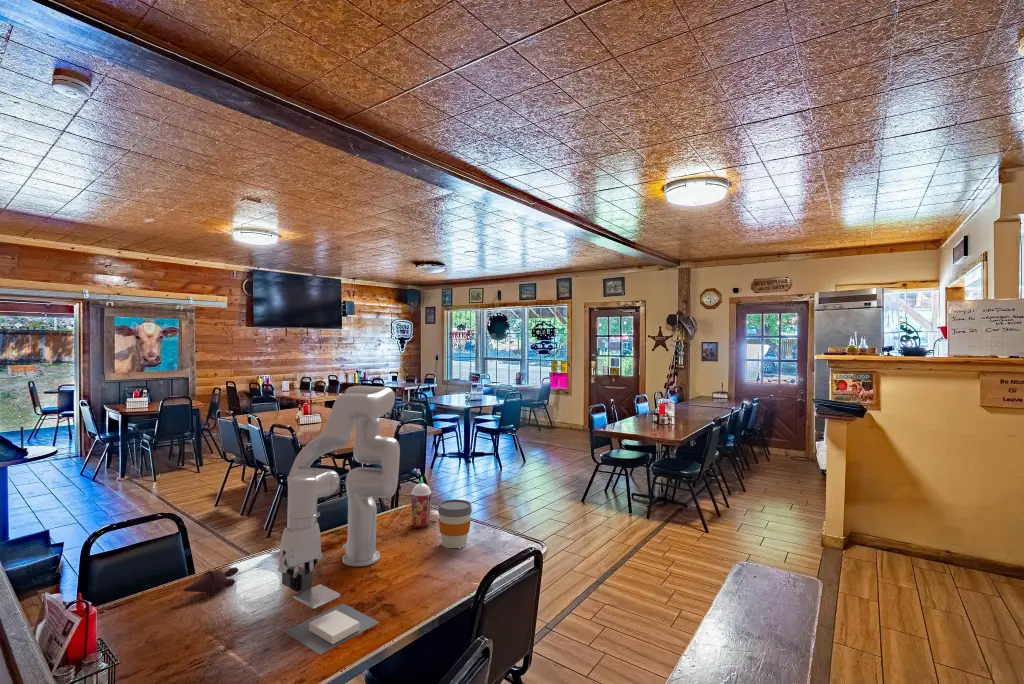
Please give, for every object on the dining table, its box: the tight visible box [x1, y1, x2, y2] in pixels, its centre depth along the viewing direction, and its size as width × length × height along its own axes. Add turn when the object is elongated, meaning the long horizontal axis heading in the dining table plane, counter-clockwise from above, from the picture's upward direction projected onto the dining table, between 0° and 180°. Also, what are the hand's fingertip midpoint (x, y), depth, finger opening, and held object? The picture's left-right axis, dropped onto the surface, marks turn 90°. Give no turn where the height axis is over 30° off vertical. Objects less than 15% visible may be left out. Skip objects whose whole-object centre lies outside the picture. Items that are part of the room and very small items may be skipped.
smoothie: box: [410, 476, 432, 528], centre depth 211 cm, size 8×8×20 cm
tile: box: [309, 610, 360, 644], centre depth 133 cm, size 2×8×10 cm
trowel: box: [281, 565, 341, 610], centre depth 140 cm, size 19×8×5 cm, turn 54°
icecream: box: [183, 566, 239, 597], centre depth 152 cm, size 7×7×15 cm
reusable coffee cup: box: [437, 499, 473, 549], centre depth 193 cm, size 13×13×15 cm
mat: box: [282, 603, 380, 656], centre depth 135 cm, size 16×18×1 cm
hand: (300, 587), depth 142 cm, fingers closed on trowel, 2 cm apart
